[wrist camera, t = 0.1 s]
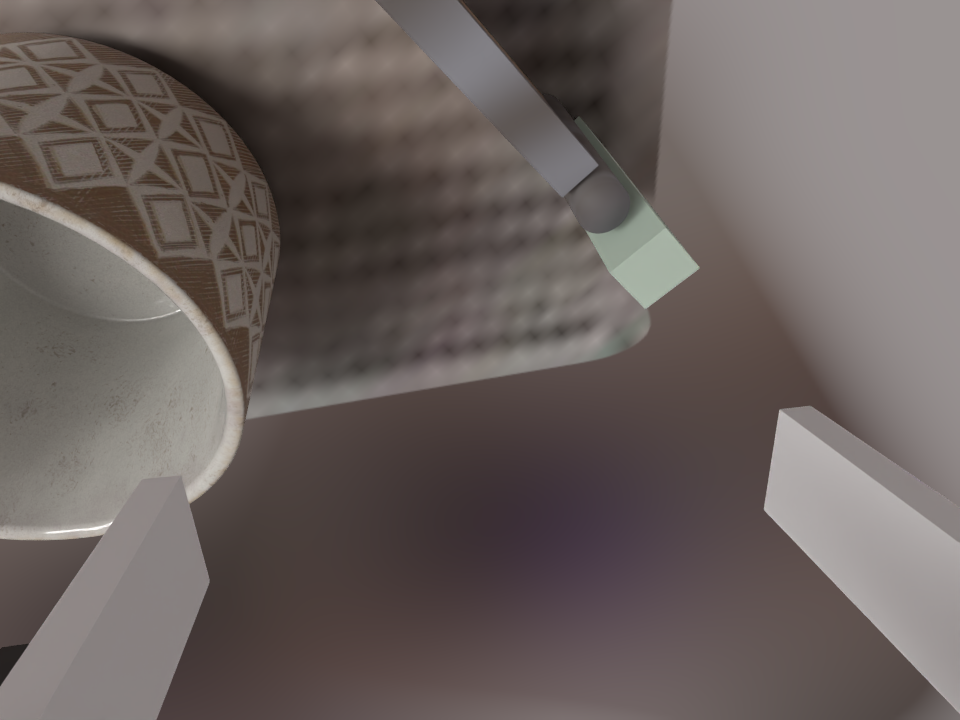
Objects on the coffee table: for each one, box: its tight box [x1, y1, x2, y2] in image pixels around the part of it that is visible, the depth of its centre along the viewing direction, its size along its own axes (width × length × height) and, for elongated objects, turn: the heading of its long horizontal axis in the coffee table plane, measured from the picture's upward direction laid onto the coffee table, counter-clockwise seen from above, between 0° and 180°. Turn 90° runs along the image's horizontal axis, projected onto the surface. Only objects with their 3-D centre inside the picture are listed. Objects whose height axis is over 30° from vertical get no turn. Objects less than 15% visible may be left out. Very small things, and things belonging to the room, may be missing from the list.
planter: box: [0, 33, 280, 540], centre depth 30 cm, size 19×19×16 cm
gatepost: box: [574, 116, 699, 309], centre depth 32 cm, size 3×3×14 cm
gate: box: [375, 0, 630, 234], centre depth 26 cm, size 22×2×12 cm, turn 43°
